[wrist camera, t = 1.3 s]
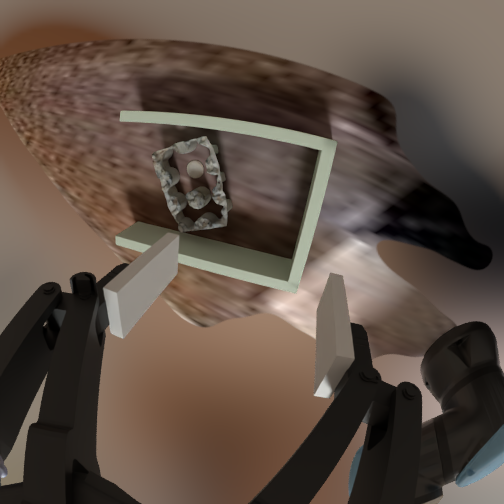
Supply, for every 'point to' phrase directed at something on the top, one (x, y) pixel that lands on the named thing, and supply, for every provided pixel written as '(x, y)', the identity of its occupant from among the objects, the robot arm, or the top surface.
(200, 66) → the top surface
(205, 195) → the egg carton
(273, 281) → the u-shaped frame
